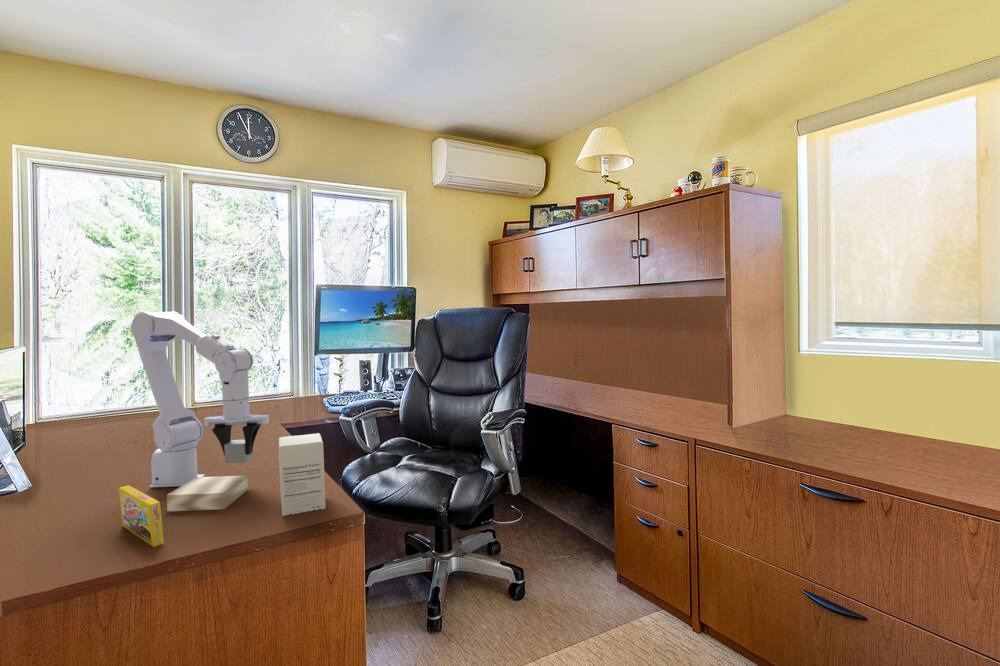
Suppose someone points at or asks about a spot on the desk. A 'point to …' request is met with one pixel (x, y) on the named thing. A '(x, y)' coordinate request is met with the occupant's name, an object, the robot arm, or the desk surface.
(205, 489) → the birch block
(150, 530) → the candy box
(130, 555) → the desk surface
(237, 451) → the slate cube
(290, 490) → the supplement box
